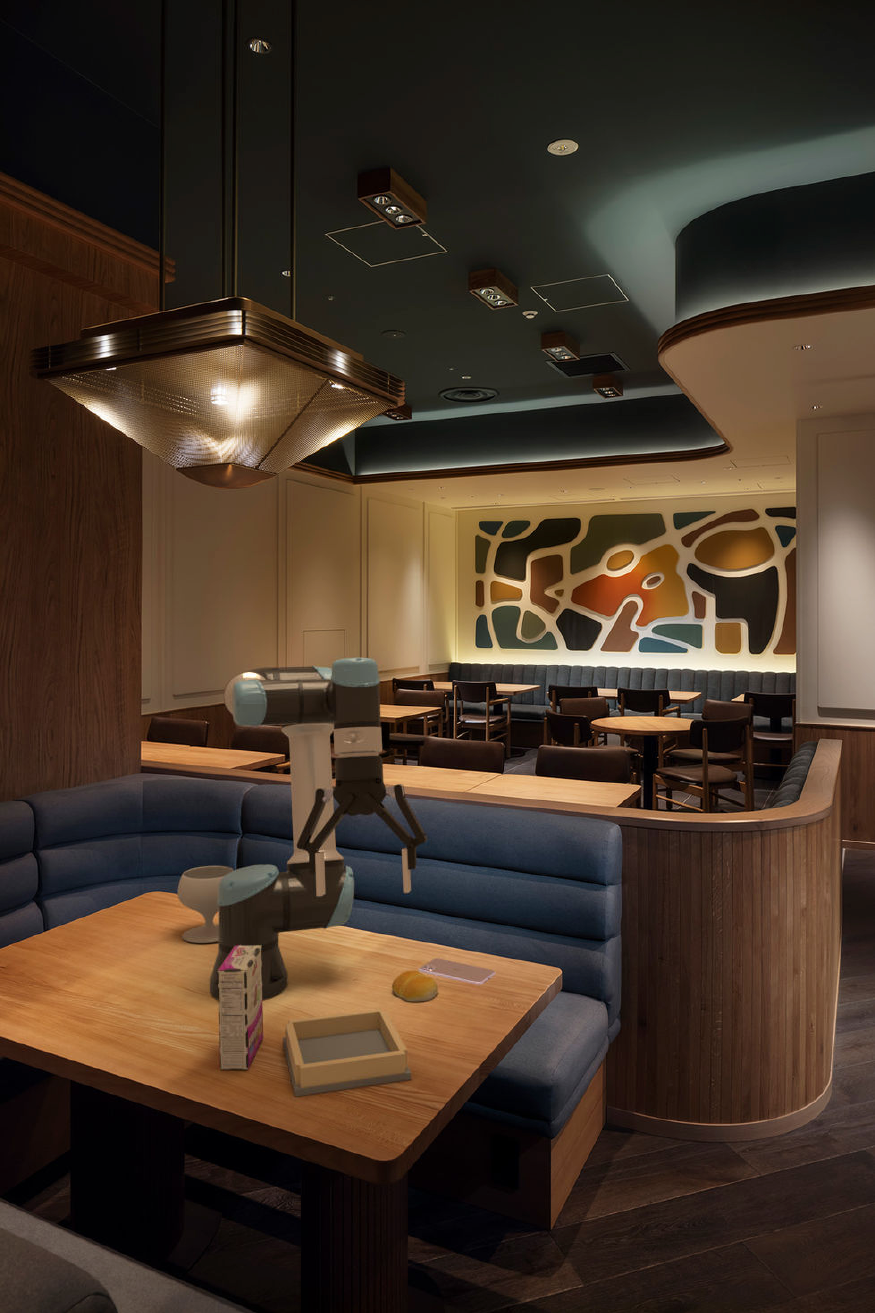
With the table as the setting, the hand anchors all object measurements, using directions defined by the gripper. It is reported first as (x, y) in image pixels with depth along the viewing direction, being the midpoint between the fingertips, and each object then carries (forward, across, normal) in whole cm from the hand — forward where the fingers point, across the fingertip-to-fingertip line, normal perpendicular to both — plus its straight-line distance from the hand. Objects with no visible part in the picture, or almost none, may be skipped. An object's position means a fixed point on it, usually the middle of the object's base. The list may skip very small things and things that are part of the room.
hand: (364, 893), depth 132 cm
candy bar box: (+27, -24, +11) cm, 37 cm away
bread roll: (+25, +2, +38) cm, 46 cm away
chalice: (+17, -50, +66) cm, 85 cm away
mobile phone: (+24, +9, +50) cm, 56 cm away
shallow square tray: (+28, -6, +10) cm, 30 cm away
